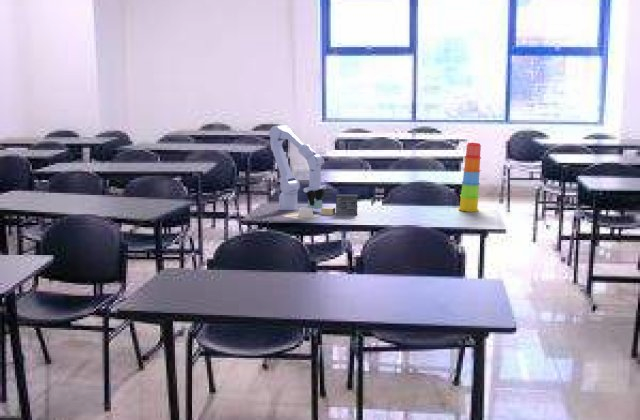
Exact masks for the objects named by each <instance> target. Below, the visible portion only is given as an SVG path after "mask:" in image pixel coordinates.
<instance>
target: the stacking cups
mask: <svg viewBox="0 0 640 420" xmlns="http://www.w3.org/2000/svg"><path fill="white" fill-rule="evenodd" d="M481 147H482V145H481V144H480V143H479V142H468V143H467V144H466V148H465V149H466V152H465V156H464V158H465V159H464V168H463V170H462V171H463V176H462V181H461V194H459V196H460V202H459V207H458V210H459V211H462V212H469V213H470V212H471V213H475V212H477V211H478V212H479V210H480V209H479V208H478V207H479V205H478V204H479V198H480V196H479V186H480V185H481V183H480V174H481V173H480V172H481V171H482V170H480V169H481V168H480V166H481V159H482V157H481Z"/></svg>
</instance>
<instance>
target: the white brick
mask: <svg viewBox="0 0 640 420" xmlns="http://www.w3.org/2000/svg"><path fill="white" fill-rule="evenodd" d="M297 210H298V211H297V212H298V215H299V216H300V217H305V218H309V217H313V214H314V209H313V208H308V207H306V206H305V207H304V206H303V207H299V208H298V207H297Z"/></svg>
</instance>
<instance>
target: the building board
mask: <svg viewBox="0 0 640 420" xmlns="http://www.w3.org/2000/svg"><path fill="white" fill-rule="evenodd" d="M280 216H281V217H285V218H289V219H290V218H291V219H295V220H301V221H305V220H311V219H314V218H319V217H323V214H317V213H313V217H309V218H305V217H300V216H299V215H298V211H295V212H291V213H285V214H282V215H281V214H280Z"/></svg>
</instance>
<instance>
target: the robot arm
mask: <svg viewBox="0 0 640 420" xmlns="http://www.w3.org/2000/svg"><path fill="white" fill-rule="evenodd" d="M268 134H269V138H270V139H269V144H270V147H271V151H272V154H273V156H274V157H273V158H274V159H275V162H276V165H277V168H278V172H279V173H280V176H281V177H280V179H279V183H280V186H279V188H280V191H281V193H280V194H279V196H278V208H277V210H279V211H294V210H298V191H299V190H300V188H301V184H300V182H299V180H298V179H297V178H296V175H294V174H293V173H292V170H291V168H290V165H289V162H288V159H287V156H286V154H285V151H284V148H283V147H284V146H283V143H284V141H285V140H288V142H290V143H291V144H292V145H293V146H294V147H296V148H297V149H298V153H299V154H300V155H301V156H302V157H303V158H304V159H305V160H306V163H307V165H308V169H309V170H308V171H309V174H308V175H309V180H308V181H309V183H308V184H309V185H308V187H304V188H303V192H304V193H305V195H306V197H307V200H309V203H310V205H312V206H314V199H318V200H323V199H322V198H323V195H324V194H325V190H327V185H325V184H322V182H321V181H322V177H321V176H322V174H321V173H322V172H321V171H322V164H323V163H324V158H323V156H322V154H320V153H317V152H316V151H315V150H313V148H311V146H310V144H307V143H303V142H302V141H301V139H299V138H298V136H297V135H296V134H294V132H293V129H292V128H290V127H289V126H288V125H287V124H281V125H274V126H272V127H270V130H269V132H268Z"/></svg>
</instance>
